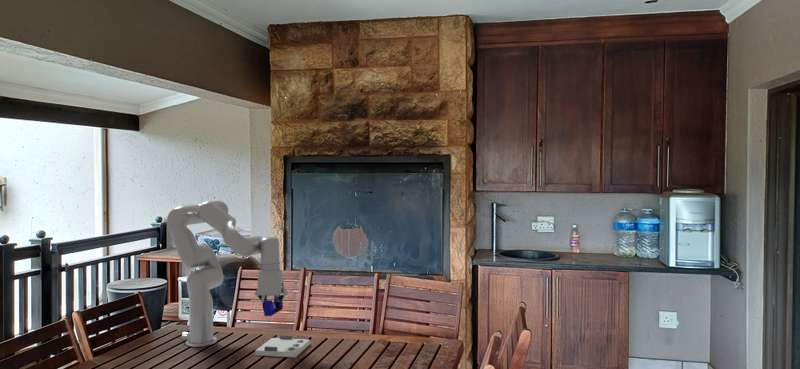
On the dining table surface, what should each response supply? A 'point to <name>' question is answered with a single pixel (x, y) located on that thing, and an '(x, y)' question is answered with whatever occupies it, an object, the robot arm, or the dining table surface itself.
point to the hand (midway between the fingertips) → (271, 310)
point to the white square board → (282, 347)
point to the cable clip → (271, 307)
